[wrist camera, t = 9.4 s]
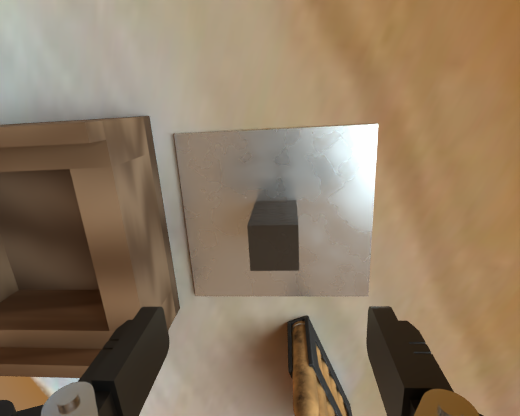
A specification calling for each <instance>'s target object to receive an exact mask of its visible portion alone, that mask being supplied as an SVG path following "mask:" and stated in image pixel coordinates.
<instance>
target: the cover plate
mask: <svg viewBox="0 0 520 416" xmlns="http://www.w3.org/2000/svg"><path fill="white" fill-rule="evenodd" d="M377 137H378V124H364V125H343V126H323V127H303V128H282V129H262V130H242V131H222V132H201V133H181V134H174V138H175V146H176V153H177V161H178V168H179V176H180V183H181V191H182V198H183V206H184V213H185V221H186V228H187V236H188V243H189V251H190V258H191V266H192V273H193V281H194V288H195V296H368V292H369V275H370V258H371V240H372V223H373V206H374V189H375V171H376V154H377Z"/></svg>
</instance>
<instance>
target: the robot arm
mask: <svg viewBox="0 0 520 416" xmlns="http://www.w3.org/2000/svg"><path fill="white" fill-rule="evenodd" d="M168 349H169V334H168V329H167V324H166V318H165V313H164V309H163V307H142V308H141V309H140V310H139V311H138V313H137V314H136V316H135V317H134V319H133V320H127V321H126V322H125V323H123V324H122V325H121V326H119V327H118V328H117V329H116V330H115V332H114V333H113V334H112V336H111V337H110V338H109V341H107V342H106V344H105V345H104V347H103V349H102V350H101V351H100V352H99V353H98V355H97V356H96V357H95V359H94V360H93V362H92V363H91V364H90V366H89V367H88V368H87V370H86V371H85V372H84V374H83V375H82V377H81V378H80V379H79V381H78V382H75V383H71V384H69V385H66V386H64V387H62V388H61V389H59V390H58V391H56V392H55V393H54V394H53V395H51V396H50V398H49V399H48V400H47V401H46V402H45V404H44V405H41V406H37V407H33V408H29V409H25V410H21V411H17V412H16V410H15V408H14V405H13V403H12V402H10V401H8V400H0V416H139V414H140V412H141V410H142V407H143V405H144V403H145V401H146V399H147V397H148V395H149V392H150V390H151V388H152V386H153V384H154V382H155V379H156V377H157V375H158V373H159V371H160V369H161V366H162V364H163V362H164V360H165V358H166V356H167V353H168ZM367 352H368V356H369V360H370V363H371V366H372V369H373V372H374V376H375V379H376V382H377V385H378V388H379V391H380V394H381V398H382V401H383V404H384V407H385V410H386V413H387V416H483V415H481V414H479V413H478V412H477V410H476V409H475V408H474V406H473V405H472V404H471V403H470V402H468V401H467V400H466V399H465V398H463V397H462V396H460V395H458V394H456V393H454V391H453V390H452V388H451V386H450V384H449V383H448V381H447V379H446V377H445V376H444V374H443V372H442V370H441V369H440V367H439V365H438V363H437V362H436V360H435V358H434V356H433V355H432V354H431V351H430V349H429V348H428V346H427V345H426V344H425V341H424V339H423V337H422V335H421V334H420V332H419V330H417V329H416V328H415V327H414V326H413V325H412V324H410V323H409V322H408V321H398V320H397V318H396V316H395V314H394V312H393V310H392V308H391V307H389V306H386V307H369V310H368V324H367Z"/></svg>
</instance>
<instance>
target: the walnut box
mask: <svg viewBox="0 0 520 416" xmlns="http://www.w3.org/2000/svg"><path fill="white" fill-rule="evenodd" d="M142 307H163V309H164V313H165V318H166V324H167V329H168V330H169V328H170V326H171V324H172V322H173V320H174V318H175V316H176V314H177V313H178V311H179V309H180V306H179V300H178V293H177V287H176V281H175V275H174V268H173V262H172V256H171V250H170V243H169V237H168V231H167V224H166V218H165V212H164V206H163V199H162V193H161V187H160V181H159V174H158V168H157V162H156V156H155V149H154V143H153V137H152V131H151V124H150V118H149V116H142V117H125V118H108V119H91V120H74V121H57V122H40V123H23V124H6V125H0V376H26V377H63V378H81V377H82V375H83V374H84V372H85V371H86V370H87V368H88V367H89V366H90V364H91V363H92V362H93V360H94V359H95V357H96V356H97V355H98V353H99V352H100V351H101V350H102V349H103V347H104V345H105V344H106V342H107V341H109V338H110V337H111V336H112V334H113V333H114V332H115V330H116V329H117V328H118V327H119V326H121V325H122V324H123V323H125V322H126V321H127V320H133V319H134V317H135V316H136V314H137V313H138V311H139V310H140V309H141V308H142Z"/></svg>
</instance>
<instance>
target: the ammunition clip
mask: <svg viewBox="0 0 520 416" xmlns="http://www.w3.org/2000/svg"><path fill="white" fill-rule="evenodd" d="M288 367H289V373H290V375H291V377H292V379H293V408H294V414H295V416H352V412H351V407H350V404H349V401H348V399H347V397H346V395H345V393H344V391H343V389H342V387H341V385H340V382H339V380H338V378H337V376H336V374H335V372H334V370H333V368H332V366H331V364H330V361H329V359H328V357H327V355H326V353H325V351H324V349H323V347H322V345H321V342H320V340H319V338H318V336H317V334H316V332H315V330H314V328H313V326H312V323H311V321H310V319H309V317H308V316H305V317H302V318H299V319H295V320H292V321H289V322H288Z"/></svg>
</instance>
